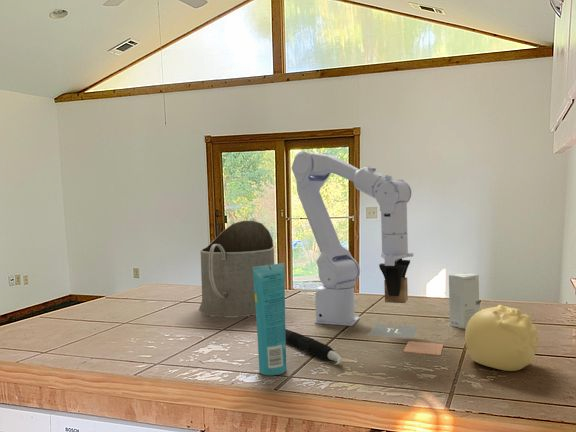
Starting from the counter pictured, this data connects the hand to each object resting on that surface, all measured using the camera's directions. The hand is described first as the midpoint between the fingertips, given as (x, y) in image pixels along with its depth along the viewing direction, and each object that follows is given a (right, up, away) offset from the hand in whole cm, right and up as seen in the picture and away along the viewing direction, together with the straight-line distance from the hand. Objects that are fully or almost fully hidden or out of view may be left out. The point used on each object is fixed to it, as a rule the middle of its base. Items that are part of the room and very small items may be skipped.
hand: (395, 293), depth 106 cm
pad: (+3, -9, -12) cm, 15 cm away
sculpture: (+14, -10, -22) cm, 27 cm away
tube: (-27, -11, -22) cm, 36 cm away
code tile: (0, -9, +2) cm, 9 cm away
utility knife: (-20, -10, -12) cm, 26 cm away
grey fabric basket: (-40, -10, +27) cm, 49 cm away
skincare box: (+18, -9, +5) cm, 20 cm away
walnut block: (0, -2, 0) cm, 2 cm away
